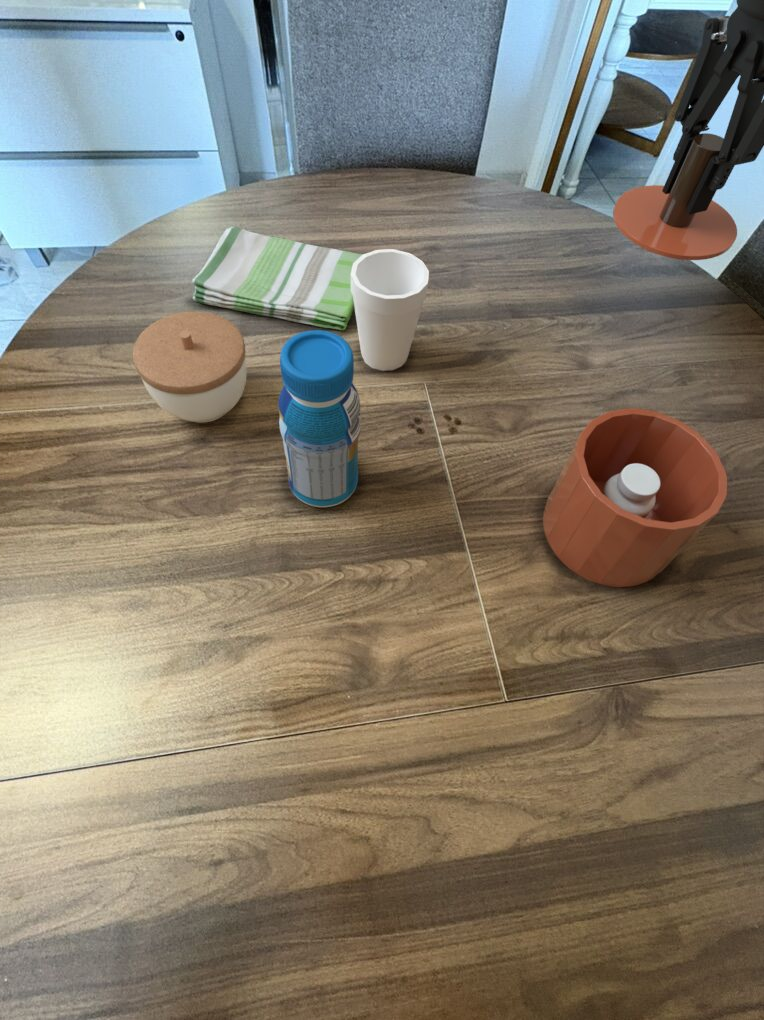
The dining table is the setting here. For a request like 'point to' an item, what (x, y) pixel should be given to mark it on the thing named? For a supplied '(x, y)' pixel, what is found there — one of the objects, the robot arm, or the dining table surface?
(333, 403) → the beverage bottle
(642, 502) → the supplement bottle
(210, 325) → the lidded bowl
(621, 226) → the lid
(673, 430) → the jar
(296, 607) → the dining table surface
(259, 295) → the dish towel
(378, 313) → the foam cup
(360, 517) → the dining table surface
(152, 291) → the dining table surface
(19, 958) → the dining table surface
